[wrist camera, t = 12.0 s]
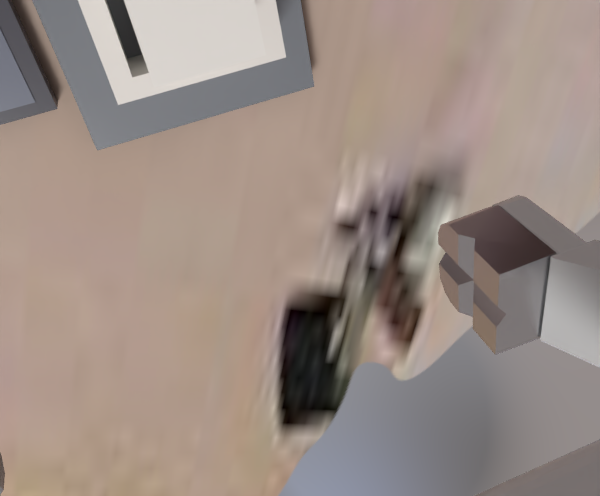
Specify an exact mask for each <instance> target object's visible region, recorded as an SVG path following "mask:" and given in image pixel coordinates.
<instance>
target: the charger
mask: <svg viewBox="0 0 600 496" xmlns="http://www.w3.org/2000/svg"><path fill="white" fill-rule="evenodd" d="M124 3H125V6H126V9H127V11H128V14H129V17H130V20H131V23H132V26H133V29H134V32H135V35H136V37H137V40H138V43H139V46H140V49H141V52H142V55H143V57H144V60H145V63H146V66H147V69H148V72H149V74H150V77H151V80H152V83H153V86H154V87H158V86H161V85H165V84H168V83H172V82H175V81H179V80H182V79H186V78H189V77H192V76H196V75H199V74H203V73H206V72H210V71H213V70H217V69H220V68H224V67H227V66H231V65H234V64H238V63H241V62H244V61H248V60H251V59H255V58H258V57H262V56H265V55H266V52H265V47H264V43H263V38H262V33H261V28H260V24H259V19H258V14H257V10H256V5H255V0H124Z"/></svg>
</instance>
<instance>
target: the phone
mask: <svg viewBox="0 0 600 496" xmlns="http://www.w3.org/2000/svg"><path fill="white" fill-rule="evenodd" d="M57 106H58V102H57V100H56V98H55V95H54V93H53V91H52V89H51V87H50V84H49V82H48V80H47V78H46V76H45V73H44V71H43V69H42V67H41V65H40V62H39V60H38V58H37V56H36V54H35V51H34V49H33V47H32V45H31V43H30V40H29V38H28V36H27V34H26V32H25V29H24V27H23V25H22V23H21V20H20V18H19V16H18V14H17V12H16V9H15V7H14V5H13V3H12V1H11V0H0V125H1V124H5V123H8V122H12V121H15V120H19V119H23V118H26V117H30V116H33V115H37V114H40V113H44V112H48V111H51V110H55V109H57Z"/></svg>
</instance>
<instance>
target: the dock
mask: <svg viewBox="0 0 600 496" xmlns="http://www.w3.org/2000/svg"><path fill="white" fill-rule="evenodd" d="M32 1H33V3H34V5H35V7H36V10H37V12H38V14H39V17H40V19H41V21H42V24H43V26H44V28H45V31H46V33H47V35H48V38H49V40H50V42H51V44H52V47H53V49H54V51H55V54H56V56H57V58H58V61H59V63H60V65H61V68H62V70H63V72H64V75H65V77H66V79H67V82H68V84H69V86H70V88H71V91H72V93H73V95H74V98H75V100H76V102H77V105H78V107H79V109H80V112H81V114H82V116H83V119H84V121H85V123H86V125H87V128H88V130H89V132H90V135H91V137H92V139H93V142H94V144H95V146H96V149H97V150H100V149H104V148H107V147H110V146H114V145H117V144H121V143H124V142H127V141H131V140H134V139H138V138H141V137H144V136H148V135H151V134H155V133H158V132H161V131H165V130H168V129H171V128H175V127H178V126H182V125H185V124H188V123H192V122H195V121H199V120H202V119H205V118H209V117H212V116H216V115H219V114H222V113H226V112H229V111H232V110H236V109H239V108H243V107H246V106H249V105H253V104H256V103H260V102H263V101H266V100H270V99H273V98H277V97H280V96H283V95H287V94H290V93H294V92H297V91H300V90H304V89H307V88H310V87H314V81H313V75H312V69H311V63H310V56H309V50H308V44H307V37H306V31H305V25H304V18H303V12H302V6H301V0H255V5H256V10H257V14H258V19H259V24H260V28H261V33H262V38H263V43H264V47H265V52H266V55H265V56H262V57H258V58H255V59H251V60H248V61H244V62H241V63H238V64H234V65H231V66H227V67H224V68H220V69H217V70H213V71H210V72H206V73H203V74H199V75H196V76H192V77H189V78H186V79H182V80H179V81H175V82H172V83H168V84H165V85H161V86H158V87H154V86H153V83H152V80H151V77H150V74H149V72H148V69H147V66H146V63H145V60H144V57H143V55H142V52H141V49H140V46H139V43H138V40H137V37H136V35H135V32H134V29H133V26H132V23H131V20H130V17H129V14H128V11H127V9H126V6H125V3H124V0H32Z"/></svg>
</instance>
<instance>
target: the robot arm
mask: <svg viewBox="0 0 600 496" xmlns="http://www.w3.org/2000/svg"><path fill="white" fill-rule="evenodd" d="M438 243H439V245H440V246H441V247H442V248H443V249H444V251H445V252H446V253H445V255H444V256H443V258H442V260H441V261H440V263H439V268H440V279H441V282H442V285H443V288H444V291H445V293H446V295H447V296H448V298H449V300H450V302H451V303H452V304H453V306H454V307H455V308H456V309H457V310H458V312H460V313H463V314H466V315H469V316H472V317H473V329H474V331H475V332H476V333H477V334H478V335H479V336H480V338H481V339H482V340H483V341H484V342H485V343H486V345H487V346H488V347H489V348H490V349H491V350H492V352H493V353H494V354H499V353H501V352H504V351H506V350H509V349H512V348H515V347H517V346H520V345H523V344H525V343H528V342H531V341H533V340H535V339H538V338H540V340H541V341H543V342H545V343H547V344H549V345H552V346H554V347H556V348H558V349H560V350H562V351H565V352H567V353H569V354H571V355H573V356H575V357H578V358H580V359H582V360H584V361H587V362H589V363H591V364H593V365H595V366H597V367H600V241H598V240H593V241H590V242H585V241H584V240H583V239H581V238H580V237H579V236H577V235H576V234H575V233H573V232H572V231H571V230H569V229H568V228H567V227H565V226H564V225H563V224H561V223H560V222H559V221H557V220H556V219H555V218H553V217H552V216H551V215H549V214H548V213H547V212H545V211H544V210H543V209H541V208H540V207H539V206H537V205H536V204H535V203H533V202H532V201H531V200H529V199H528V198H527V197H524V196H520V195H518V196H515V197H512V198H510V199H507V200H505V201H502V202H499V203H497V204H494V205H493V206H492V207H488V208H485V209H482V210H480V211H477V212H474V213H472V214H469V215H466V216H464V217H461V218H458V219H455V220H453V221H450V222H447V223H445V224H442V225H441V226H440V229H439V232H438ZM4 477H5V472H4V467H3V461H2V456H1V453H0V494H1V493H2V491H3V490H4ZM474 496H600V439H599V440H597V441H595V442H593V443H590V444H588V445H586V446H584V447H582V448H579V449H577V450H575V451H572V452H570V453H568V454H566V455H564V456H561V457H559V458H557V459H555V460H553V461H550V462H548V463H546V464H543V465H541V466H539V467H537V468H534V469H532V470H530V471H528V472H526V473H523V474H521V475H519V476H517V477H514V478H512V479H510V480H508V481H506V482H503V483H501V484H499V485H496V486H494V487H492V488H490V489H487V490H485V491H483V492H481V493H478V494H476V495H474Z"/></svg>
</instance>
